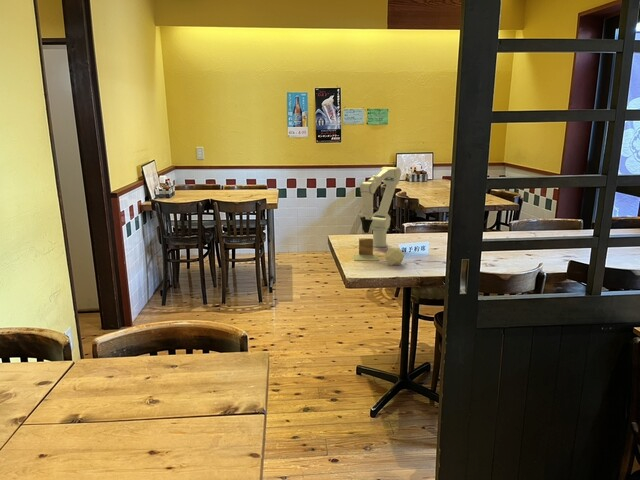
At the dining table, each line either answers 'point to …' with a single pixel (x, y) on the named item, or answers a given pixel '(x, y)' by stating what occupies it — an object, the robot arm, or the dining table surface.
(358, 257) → the mat
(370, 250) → the walnut block
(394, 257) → the die
